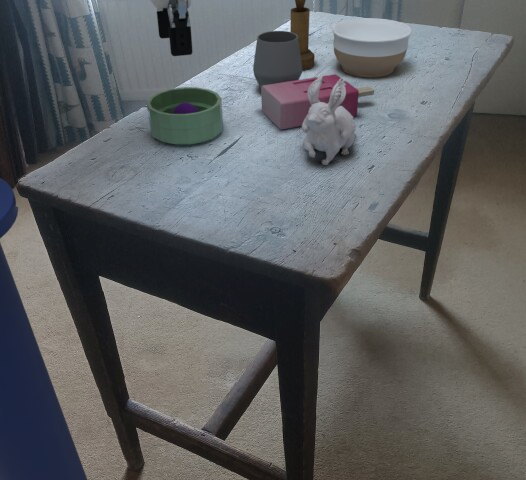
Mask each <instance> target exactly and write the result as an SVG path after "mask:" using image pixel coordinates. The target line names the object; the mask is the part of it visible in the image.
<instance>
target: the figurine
mask: <svg viewBox="0 0 526 480" xmlns="http://www.w3.org/2000/svg"><path fill="white" fill-rule="evenodd" d="M323 76H324V74H320V75H319V76H317V77H318V79H317V80H315V81H314V82H312V84H311V85H310V86H309V88H308V99H309V102H310V104H311V107H310V108H309V111H308V115H307V116H306V118H305V119H304V122H303V124H302V126H301V130H302V132H303V133H304V134H305V136H304V138H303V140H302V146H303V148H304V149H305V150H306V151H307V152H308V155H309V157H310V158H316V156H317V154H316V151H315V150H317V151H319V152H324V153H325V155H326V158H325V159H322V160H321V165H323V166H328V165H329V164H330V162H332V160H333V159H334V158H335V156H336V155H337V154H338V153H339V152H340V149H341V153H340V154H341V155H343V156H348V155H350V152H349V148H350V147H352V145H353V143H354V141H355V139H356V133H355V132H356V127H357V124H356V121H355V119H354V117H353V116H351V114H350V113H349V112H348V111H347V110H346V109H345V108H344V107H343V106H339V105H340V104H341V103H342V102H343V101H344V99H345V96H346V88H345V85H346V84H345V83H344V82H345V81H346V80H345V79H343V77H340V79H339V81H337V83H336V85H335V86H334V87H333V89H332V92H331V95H330V99H329V103H328V104H326V103H324V102H320V101H319V99H318V96H319V91H320V87H321V85H322V78H323ZM342 79H343V80H342ZM341 80H342V81H341ZM338 106H339V107H338Z"/></svg>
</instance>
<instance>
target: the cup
mask: <svg viewBox="0 0 526 480" xmlns="http://www.w3.org/2000/svg"><path fill="white" fill-rule="evenodd" d="M252 66H253V67H252V71H253V76H254V79H255V80H256V82H257V84H258V86H259V88H260V89H261V87H262V86H263V85H270V84H276V83H283V82H289V81H295V80H300V78H301V76H302V73H303V70H302V63H301V56H300V49H299V42H298V36H297V35H296V34H295V33H292V32H290V31H287V30H269V31H265V32H262V33H259V34H258V35H257V37H256V43H255V52H254V59H253V65H252Z"/></svg>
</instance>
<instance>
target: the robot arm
mask: <svg viewBox="0 0 526 480" xmlns="http://www.w3.org/2000/svg"><path fill="white" fill-rule="evenodd" d="M150 2H151V3H152V4H153V6H154V7H155V9H156V19H157V28H158V37H159V38H160V39H169V47H170V48H169V49H170V54H171V56H172V57H183V56H191V55H192V54H193V52H194V51H193V41H192V39H193V38H192V26H191V20H190V13H189V10H188V9H189V8H190V7H191V3H192V0H150Z"/></svg>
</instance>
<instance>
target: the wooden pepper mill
mask: <svg viewBox="0 0 526 480" xmlns="http://www.w3.org/2000/svg"><path fill="white" fill-rule="evenodd" d="M306 1H307V0H294V3H295V7H293V8H291V9H290V31H289V32H292V33H295V34H296V35H297V36H298V42H299V49H300V56H301V63H302V71H307V70H310V69H312V68H314V67H315V53H314V52H313V51H312V50H311V49H309V43H310V42H309V37H310V15H311V12H310V11H311V9H310V8H309V7H305V5H306Z"/></svg>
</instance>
